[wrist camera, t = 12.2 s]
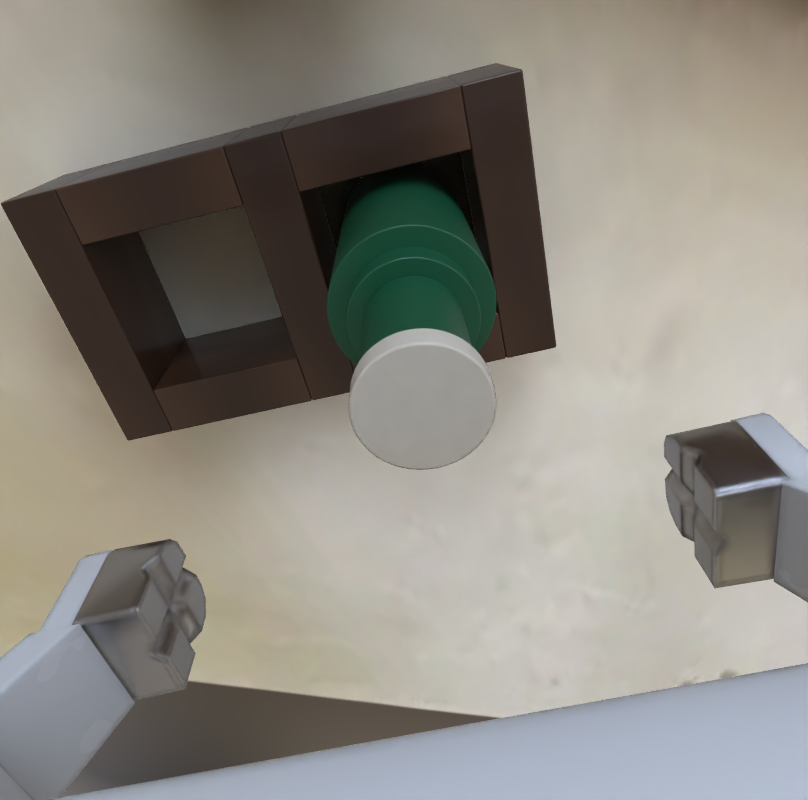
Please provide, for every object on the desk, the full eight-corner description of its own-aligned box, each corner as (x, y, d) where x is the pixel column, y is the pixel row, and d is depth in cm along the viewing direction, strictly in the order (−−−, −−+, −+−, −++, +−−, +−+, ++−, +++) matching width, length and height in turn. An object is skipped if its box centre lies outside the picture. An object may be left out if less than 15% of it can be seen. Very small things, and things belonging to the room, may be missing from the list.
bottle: (361, 289, 29) (341, 519, 15) (330, 177, 26) (274, 331, 13) (469, 264, 29) (550, 478, 15) (448, 148, 26) (522, 275, 12)
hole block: (163, 384, 31) (127, 441, 27) (62, 175, 26) (-1, 203, 22) (531, 301, 29) (556, 347, 25) (497, 62, 25) (522, 68, 20)
